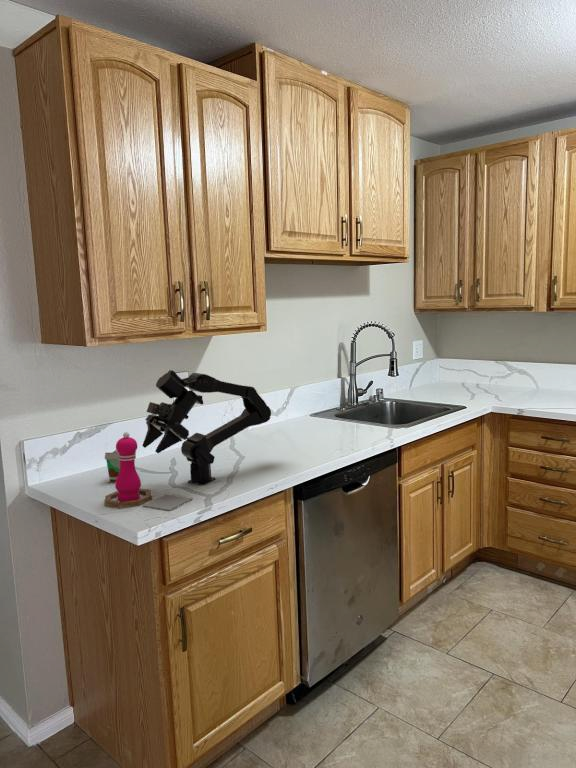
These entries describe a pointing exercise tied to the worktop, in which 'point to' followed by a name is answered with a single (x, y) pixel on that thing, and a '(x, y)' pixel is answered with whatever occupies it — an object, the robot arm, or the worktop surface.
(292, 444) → the worktop surface
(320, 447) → the worktop surface
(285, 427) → the worktop surface
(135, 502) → the walnut holder ring
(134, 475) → the pepper mill
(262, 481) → the worktop surface
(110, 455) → the food container
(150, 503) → the slate mat
